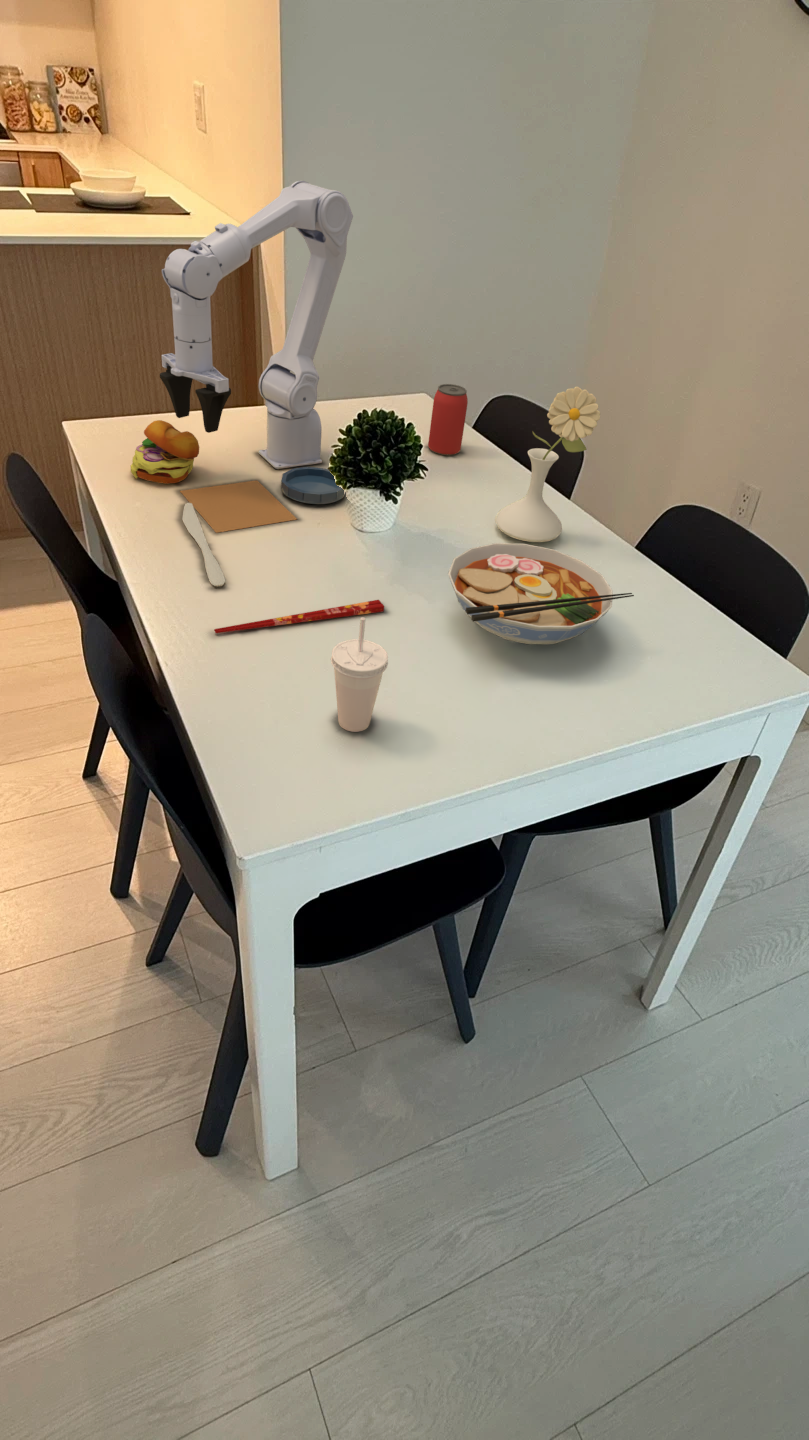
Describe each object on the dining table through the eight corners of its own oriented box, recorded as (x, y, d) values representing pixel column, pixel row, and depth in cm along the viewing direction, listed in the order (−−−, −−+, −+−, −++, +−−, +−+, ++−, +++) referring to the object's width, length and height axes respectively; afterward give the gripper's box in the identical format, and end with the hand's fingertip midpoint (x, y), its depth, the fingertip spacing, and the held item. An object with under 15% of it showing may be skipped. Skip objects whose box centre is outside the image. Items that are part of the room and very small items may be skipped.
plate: (327, 477, 156) (327, 463, 155) (356, 502, 149) (357, 488, 148) (270, 485, 151) (271, 471, 150) (298, 511, 144) (299, 497, 143)
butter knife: (205, 585, 122) (226, 582, 122) (177, 503, 141) (195, 501, 142) (206, 588, 122) (227, 585, 123) (177, 507, 141) (196, 505, 142)
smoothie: (380, 706, 105) (391, 608, 96) (381, 741, 100) (393, 639, 92) (327, 703, 105) (334, 603, 96) (325, 737, 100) (332, 635, 91)
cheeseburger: (123, 464, 151) (132, 408, 146) (183, 474, 157) (194, 420, 152) (135, 488, 144) (145, 429, 139) (198, 497, 150) (209, 441, 145)
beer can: (466, 450, 173) (475, 389, 166) (450, 459, 169) (458, 397, 161) (438, 440, 176) (446, 380, 168) (421, 449, 171) (428, 387, 164)
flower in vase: (486, 538, 144) (513, 385, 128) (502, 512, 152) (529, 365, 137) (562, 557, 141) (600, 403, 126) (574, 529, 150) (611, 382, 134)
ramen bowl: (558, 579, 135) (569, 531, 130) (638, 661, 119) (655, 610, 114) (409, 594, 127) (416, 544, 122) (474, 686, 111) (485, 632, 106)
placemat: (257, 480, 152) (257, 480, 152) (297, 519, 142) (297, 519, 142) (179, 491, 146) (179, 490, 146) (216, 532, 135) (216, 532, 135)
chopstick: (213, 631, 114) (212, 625, 113) (378, 604, 124) (379, 598, 123) (217, 639, 113) (217, 633, 112) (384, 611, 122) (384, 606, 122)
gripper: (143, 328, 136) (150, 414, 144) (201, 354, 129) (205, 442, 138) (180, 322, 140) (184, 406, 149) (238, 347, 134) (240, 433, 142)
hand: (197, 423), depth 144 cm, fingers open, 7 cm apart
